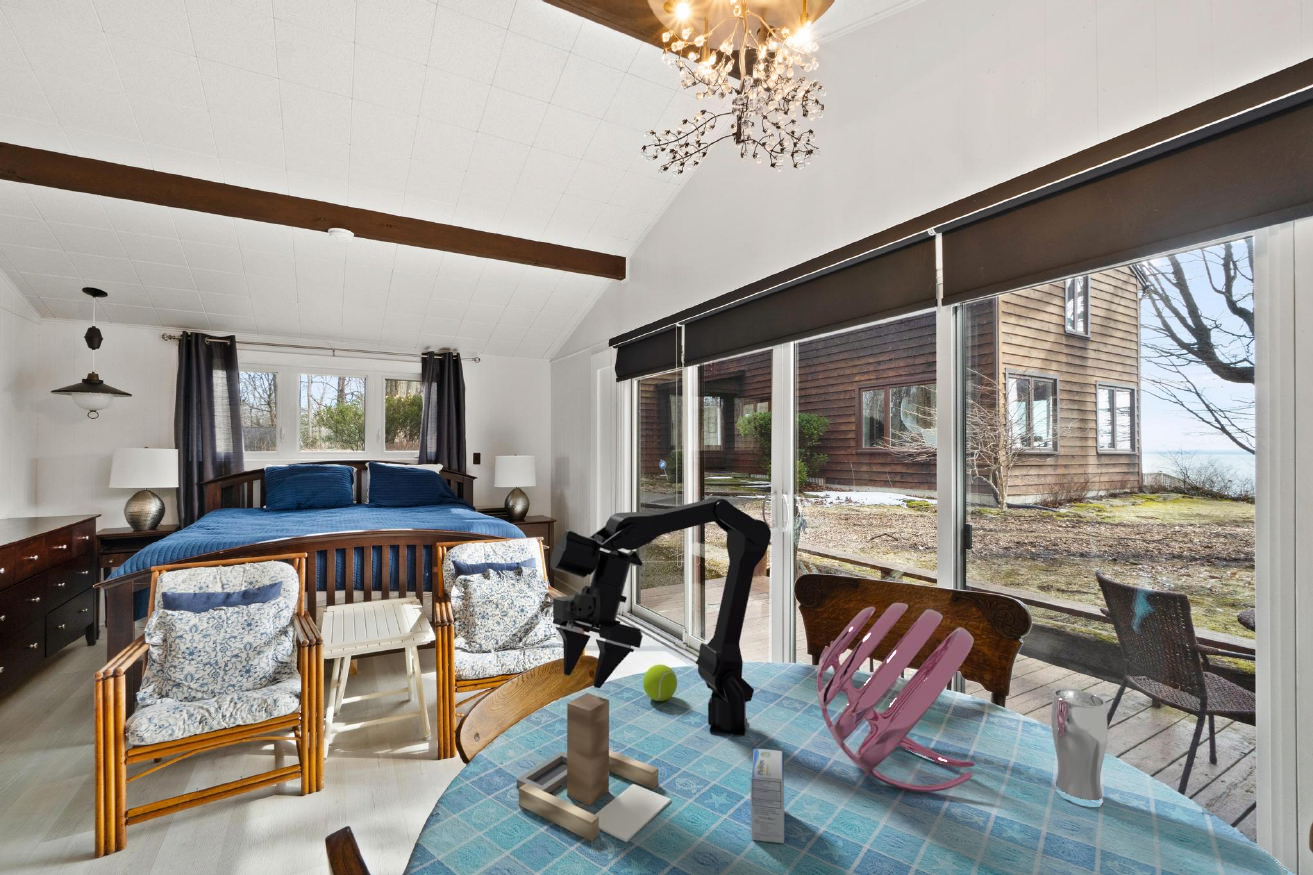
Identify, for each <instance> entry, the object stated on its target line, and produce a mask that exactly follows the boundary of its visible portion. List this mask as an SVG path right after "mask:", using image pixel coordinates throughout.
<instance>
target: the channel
mask: <svg viewBox="0 0 1313 875" xmlns="http://www.w3.org/2000/svg"><path fill="white" fill-rule="evenodd" d="M609 773H612V774H614V775H618V776H620V777H621V778H625V779H628V780H630V781H632V782H635V783H637V784H639V785H642V786H645V787H647V788H650V789H652V790H653V789H654V788H656V787H657V786H658V785H659V768H658V767H655V766H653V765H651V764H647V763H645V762H642V761H640V760H637V759H634V758H632V757H629V756H626V755H624V754H622V753H619V752H616V751H614V750H611V749H609ZM518 806H519V807H521V808H524V809H526V810H528V811H530V812H532V813H534V814H536V815H538V816H540V817H542V818H544V819H546V820H548V821H550V822H551V823H554V824H557V825H558V826H560V827H562V828H564V829H565V830H566V829H567V830H568V831H570V832H572V833H574V834H576V835H578V836H580V837H582V838H584V839H587V840H588V841H590V842H593V841H594V840H595V839H596V838H597V837H599V836H600V835H599V834H600V829H599V817H598V816H596V815H595V814H594V813H591V812H589V811H587V810H585V809H583V808H581V807H578V806H576V805H574V804H572V803H570V802H568V801H566V800H563V799H561V798H559V797H557V796H554V795H552V794H551V793H550V794H549V793H546V792H544V791H542V790H540V789H538V788H536V787H533V786H531V785H529V784H527V783H526V784H525V785H523V786H521V787H520V788H518Z"/></svg>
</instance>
